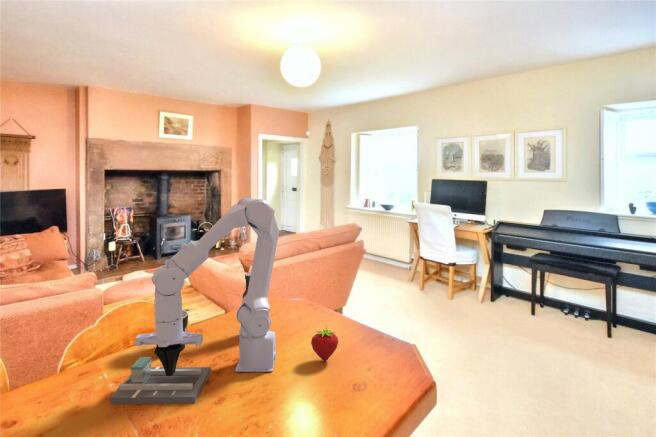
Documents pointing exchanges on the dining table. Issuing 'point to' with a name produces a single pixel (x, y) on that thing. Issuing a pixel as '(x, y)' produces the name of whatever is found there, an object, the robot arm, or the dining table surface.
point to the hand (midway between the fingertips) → (170, 373)
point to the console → (164, 387)
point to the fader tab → (141, 370)
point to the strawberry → (324, 343)
